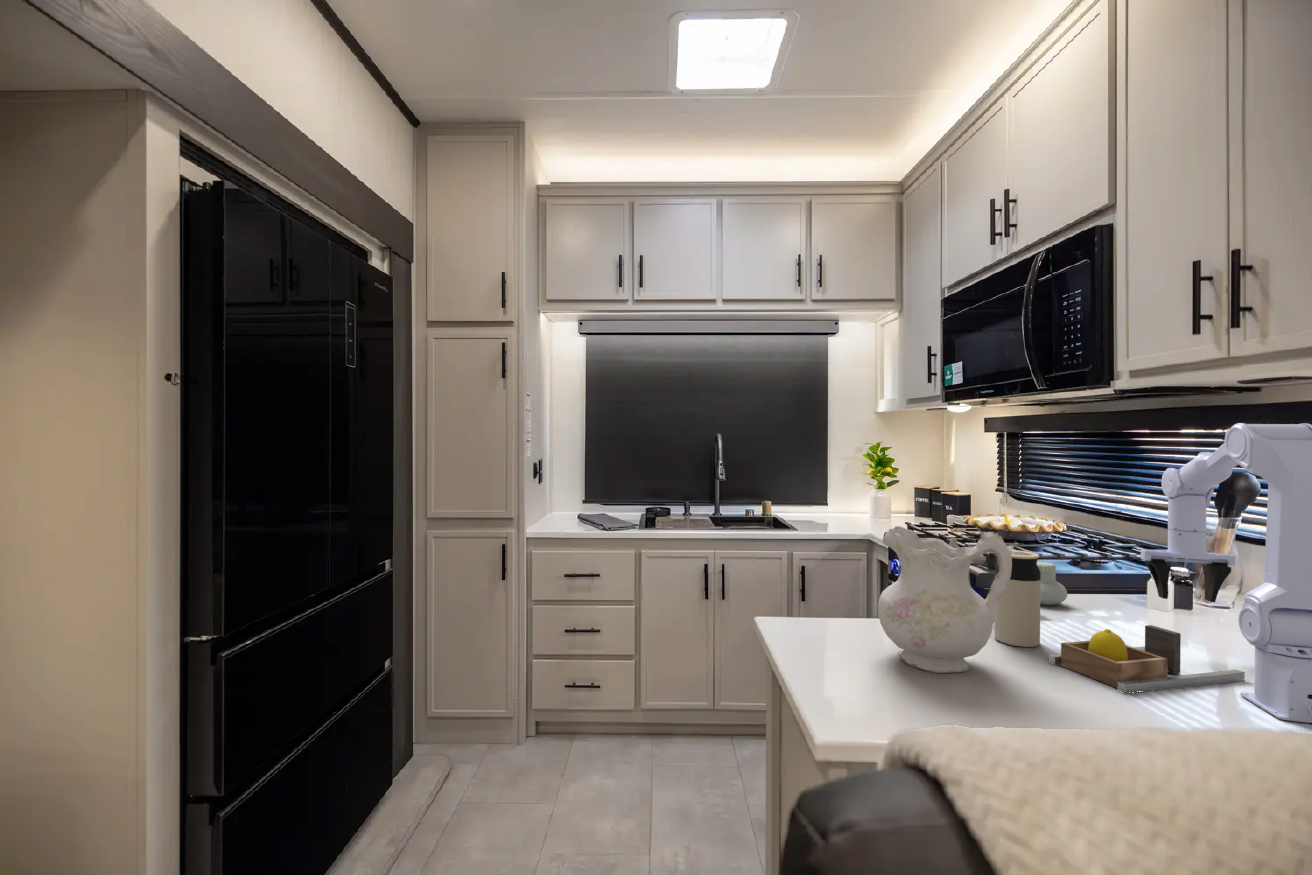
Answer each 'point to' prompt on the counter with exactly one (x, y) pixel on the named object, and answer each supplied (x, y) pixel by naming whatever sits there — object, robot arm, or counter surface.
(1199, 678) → the lane rails
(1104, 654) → the lemon
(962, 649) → the ceramic pitcher
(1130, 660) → the wooden tray
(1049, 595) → the air freshener
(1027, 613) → the travel mug
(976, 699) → the counter surface
